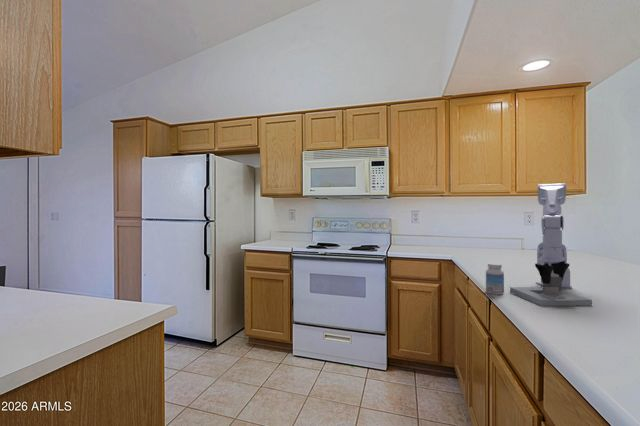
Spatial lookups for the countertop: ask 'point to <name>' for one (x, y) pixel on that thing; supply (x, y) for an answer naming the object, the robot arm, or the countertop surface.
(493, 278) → the pill bottle
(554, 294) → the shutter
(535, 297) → the socket panel
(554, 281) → the plug
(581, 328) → the countertop surface
